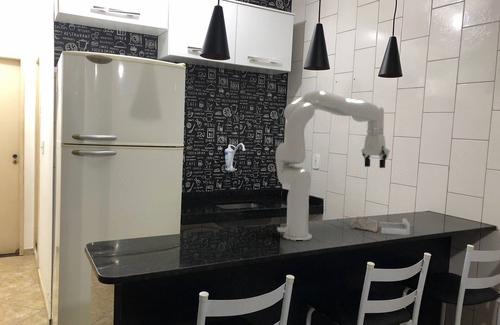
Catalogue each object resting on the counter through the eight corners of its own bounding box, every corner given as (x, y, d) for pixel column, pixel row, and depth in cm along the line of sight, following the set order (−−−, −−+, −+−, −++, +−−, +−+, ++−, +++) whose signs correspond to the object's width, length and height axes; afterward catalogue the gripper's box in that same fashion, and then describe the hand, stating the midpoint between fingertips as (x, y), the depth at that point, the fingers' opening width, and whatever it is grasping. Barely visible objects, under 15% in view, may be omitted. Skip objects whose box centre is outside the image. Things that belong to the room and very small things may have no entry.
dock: (381, 233, 188) (381, 222, 188) (379, 226, 203) (379, 217, 202) (409, 235, 185) (410, 224, 185) (405, 228, 200) (405, 218, 199)
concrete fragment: (374, 233, 190) (374, 220, 189) (349, 228, 200) (349, 216, 200) (382, 231, 194) (382, 218, 194) (357, 226, 205) (357, 214, 204)
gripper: (357, 132, 202) (356, 166, 203) (383, 132, 187) (382, 168, 188) (367, 132, 205) (367, 166, 206) (394, 132, 190) (394, 168, 191)
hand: (374, 167), depth 197 cm, fingers open, 9 cm apart
